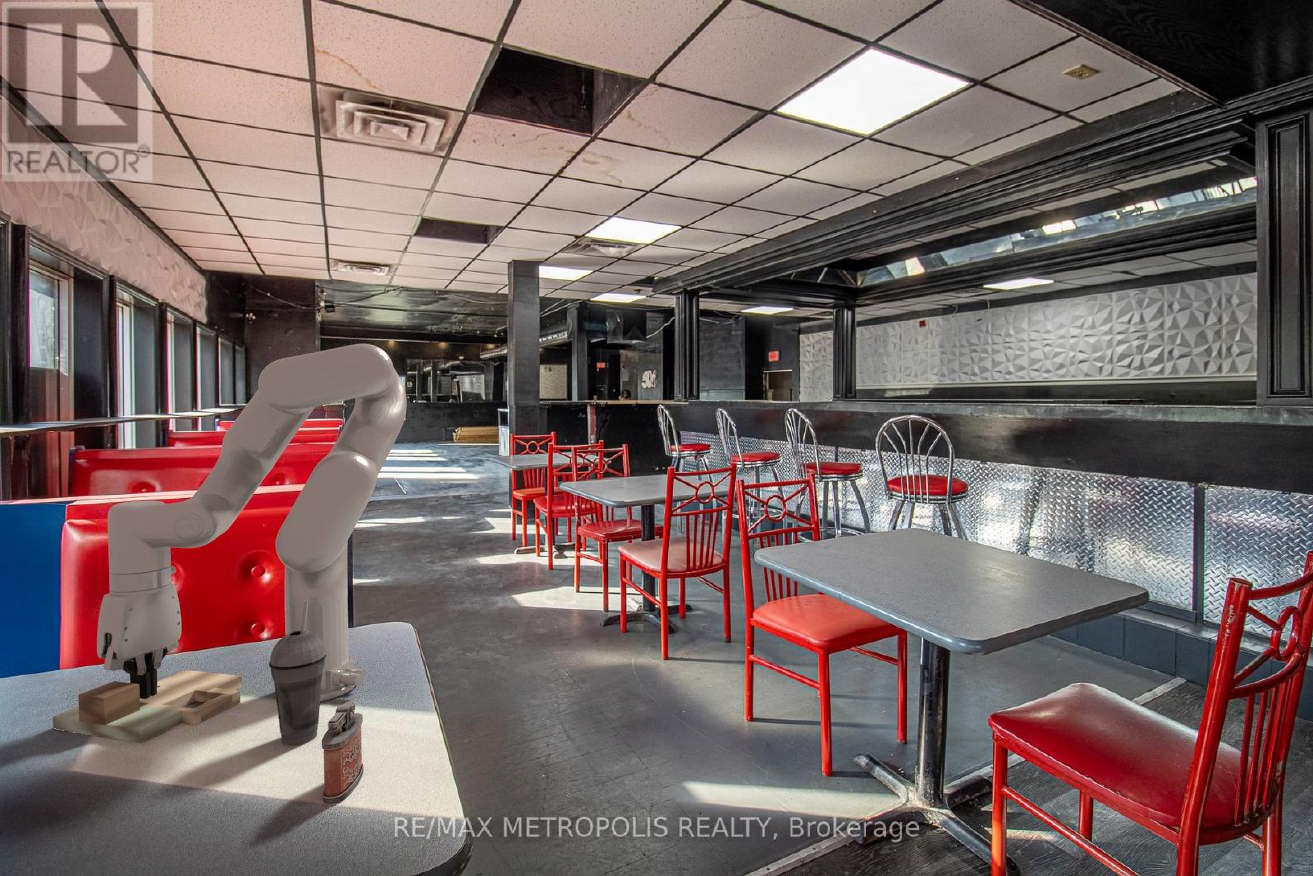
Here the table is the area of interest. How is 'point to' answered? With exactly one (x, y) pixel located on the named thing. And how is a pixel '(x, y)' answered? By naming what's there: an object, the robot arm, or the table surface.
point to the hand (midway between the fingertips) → (144, 696)
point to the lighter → (342, 754)
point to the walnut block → (109, 702)
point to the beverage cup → (298, 683)
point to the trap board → (165, 707)
